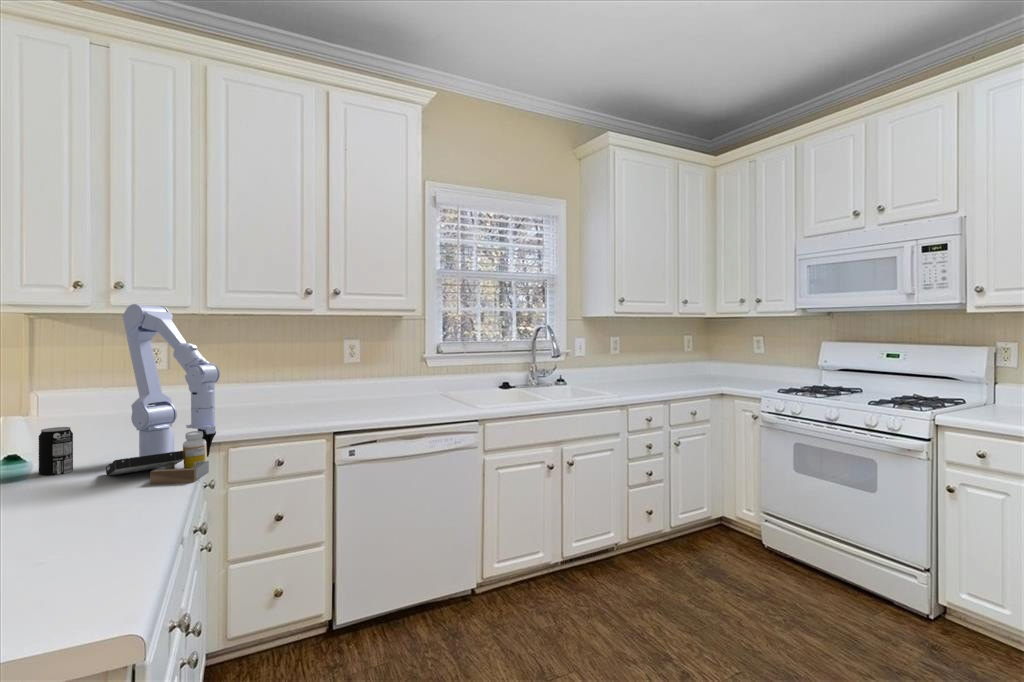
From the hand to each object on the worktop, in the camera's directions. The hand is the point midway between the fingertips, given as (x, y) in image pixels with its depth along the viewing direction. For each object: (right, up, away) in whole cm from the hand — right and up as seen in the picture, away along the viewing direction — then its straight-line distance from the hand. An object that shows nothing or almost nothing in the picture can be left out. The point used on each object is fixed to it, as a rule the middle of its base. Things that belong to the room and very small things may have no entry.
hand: (203, 457), depth 146 cm
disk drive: (-14, 0, -16) cm, 21 cm away
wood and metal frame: (+2, -2, -13) cm, 14 cm away
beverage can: (-31, -2, -12) cm, 33 cm away
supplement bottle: (+1, -2, -4) cm, 5 cm away
